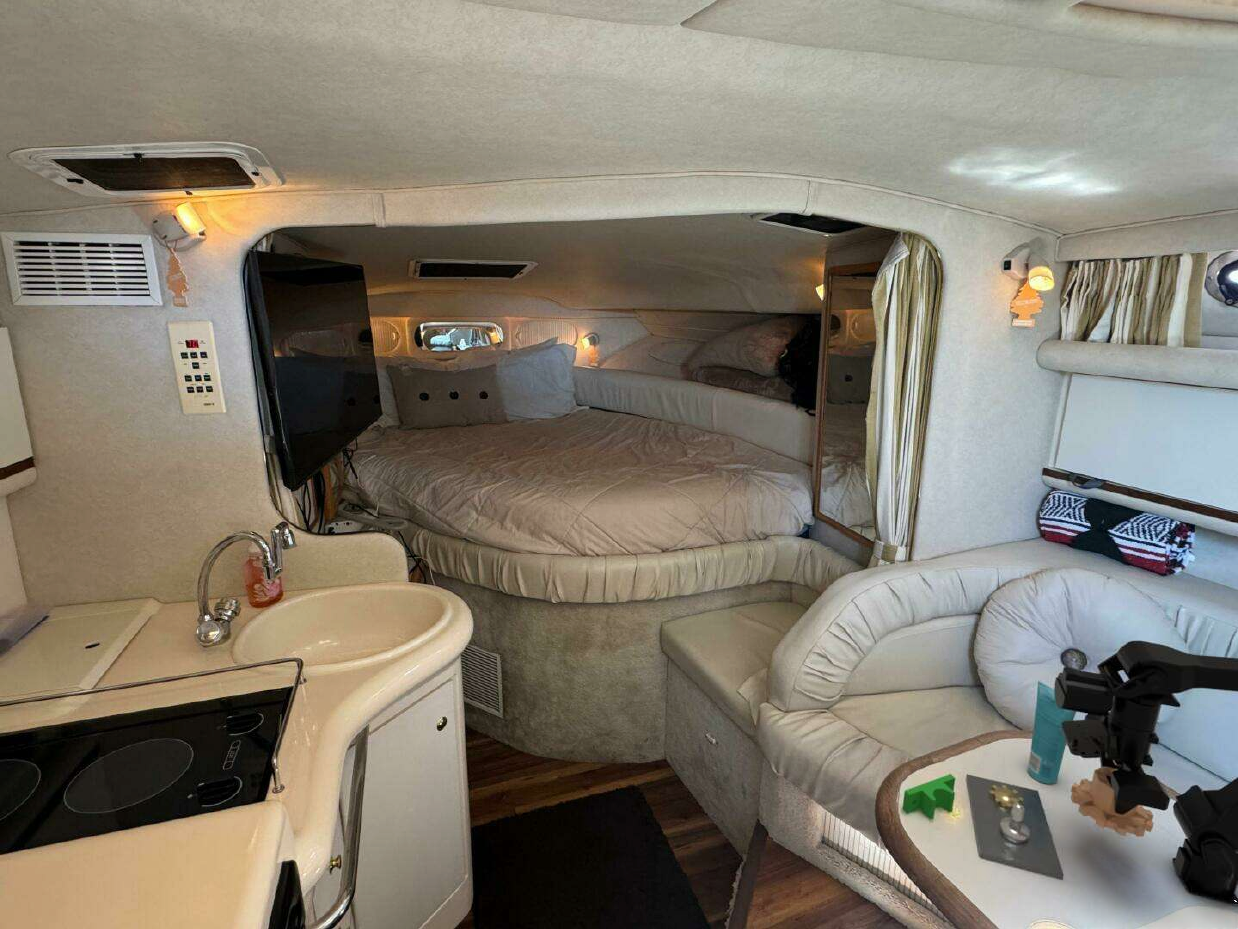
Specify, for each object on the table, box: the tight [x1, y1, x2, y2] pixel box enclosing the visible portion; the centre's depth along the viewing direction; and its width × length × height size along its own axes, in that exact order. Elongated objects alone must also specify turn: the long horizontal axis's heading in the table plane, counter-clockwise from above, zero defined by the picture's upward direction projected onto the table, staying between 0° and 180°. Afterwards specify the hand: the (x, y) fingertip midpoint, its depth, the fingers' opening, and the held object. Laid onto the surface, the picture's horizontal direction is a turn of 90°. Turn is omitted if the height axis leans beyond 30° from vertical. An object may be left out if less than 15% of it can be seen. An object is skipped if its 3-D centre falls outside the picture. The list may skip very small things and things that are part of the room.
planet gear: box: [1070, 766, 1155, 838], centre depth 103 cm, size 11×11×6 cm
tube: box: [1027, 681, 1077, 785], centre depth 121 cm, size 7×5×19 cm, turn 32°
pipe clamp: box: [902, 773, 956, 821], centre depth 116 cm, size 11×4×5 cm, turn 110°
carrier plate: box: [965, 773, 1065, 881], centre depth 112 cm, size 12×19×7 cm, turn 158°
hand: (1112, 799), depth 103 cm, fingers closed on planet gear, 6 cm apart
